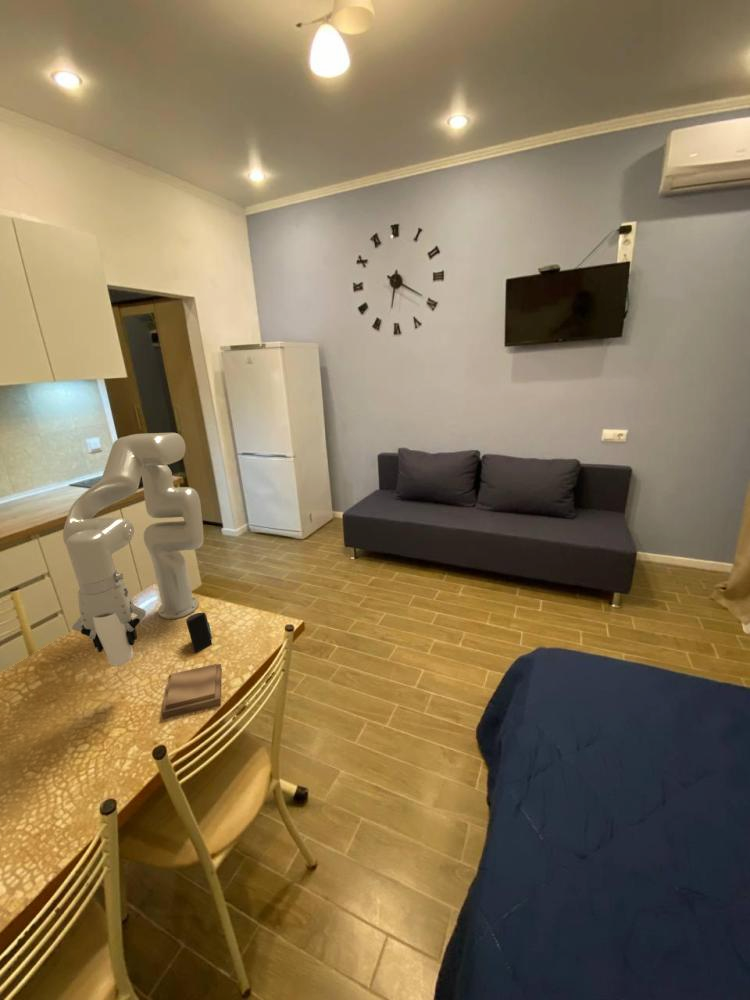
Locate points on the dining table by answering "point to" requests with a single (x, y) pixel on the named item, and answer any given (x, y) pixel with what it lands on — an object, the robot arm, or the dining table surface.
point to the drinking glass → (113, 639)
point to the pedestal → (192, 690)
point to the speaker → (199, 631)
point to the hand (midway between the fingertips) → (117, 644)
